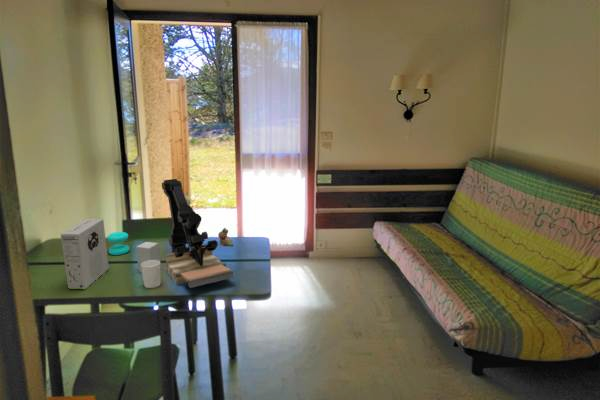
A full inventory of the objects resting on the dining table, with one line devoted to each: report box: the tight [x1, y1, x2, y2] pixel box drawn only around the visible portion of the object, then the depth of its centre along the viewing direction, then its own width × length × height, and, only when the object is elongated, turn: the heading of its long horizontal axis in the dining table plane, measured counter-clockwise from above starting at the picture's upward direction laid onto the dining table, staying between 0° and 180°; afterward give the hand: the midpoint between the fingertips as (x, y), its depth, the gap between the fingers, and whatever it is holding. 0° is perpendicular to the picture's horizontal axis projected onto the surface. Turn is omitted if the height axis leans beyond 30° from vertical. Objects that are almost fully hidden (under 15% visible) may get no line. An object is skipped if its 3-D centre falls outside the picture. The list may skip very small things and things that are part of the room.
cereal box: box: [60, 218, 110, 289], centre depth 189 cm, size 22×8×25 cm, turn 178°
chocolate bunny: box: [217, 227, 234, 247], centre depth 234 cm, size 6×8×10 cm
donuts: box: [106, 231, 131, 256], centre depth 222 cm, size 10×10×10 cm
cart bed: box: [165, 249, 227, 285], centre depth 197 cm, size 18×23×8 cm
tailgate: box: [180, 264, 234, 289], centre depth 185 cm, size 3×19×13 cm
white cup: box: [141, 260, 162, 289], centre depth 185 cm, size 8×8×10 cm
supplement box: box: [135, 241, 162, 273], centre depth 200 cm, size 7×7×13 cm
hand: (201, 265), depth 190 cm, fingers closed
